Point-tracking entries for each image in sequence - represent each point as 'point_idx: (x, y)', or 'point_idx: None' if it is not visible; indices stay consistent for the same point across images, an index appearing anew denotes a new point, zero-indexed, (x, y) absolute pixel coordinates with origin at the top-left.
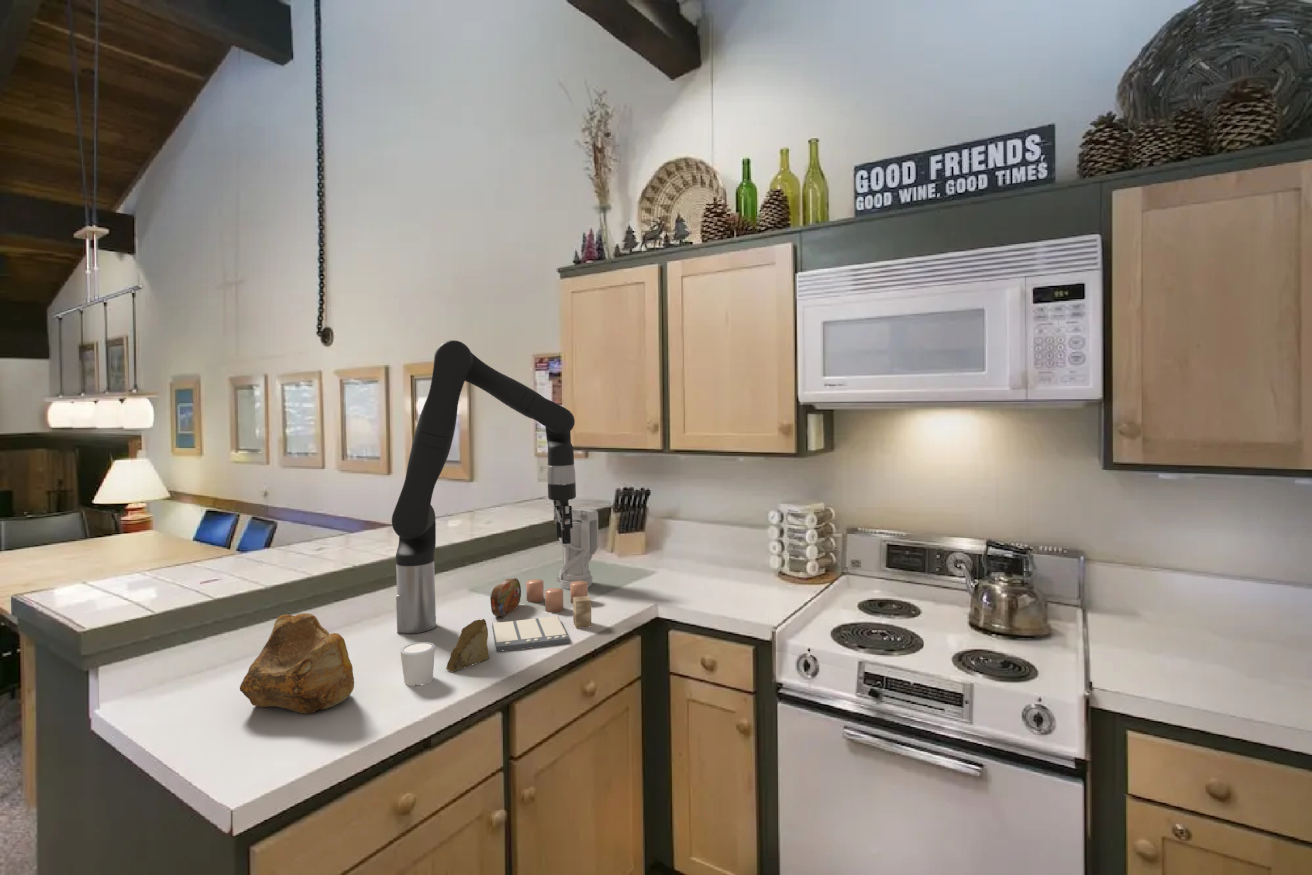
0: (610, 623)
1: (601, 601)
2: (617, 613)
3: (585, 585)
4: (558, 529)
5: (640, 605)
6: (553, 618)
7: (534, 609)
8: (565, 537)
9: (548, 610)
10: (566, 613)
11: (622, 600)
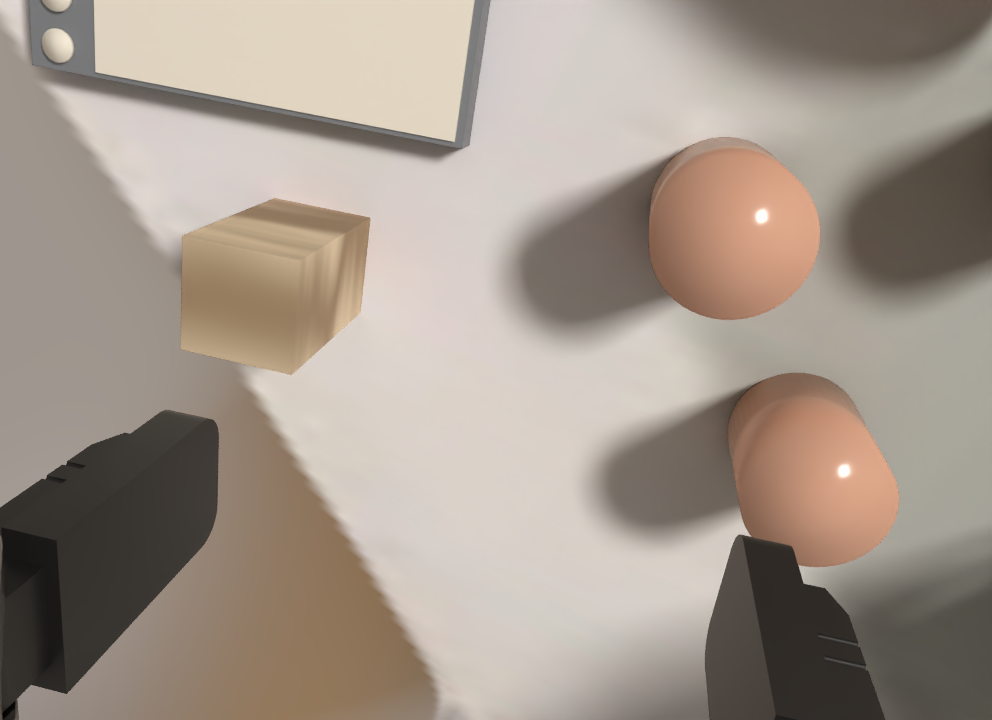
0: (279, 407)
1: (701, 548)
2: (425, 516)
3: (745, 522)
4: (749, 664)
5: (497, 678)
6: (419, 98)
7: (822, 65)
8: (51, 488)
9: (687, 148)
10: (586, 253)
11: (643, 651)
